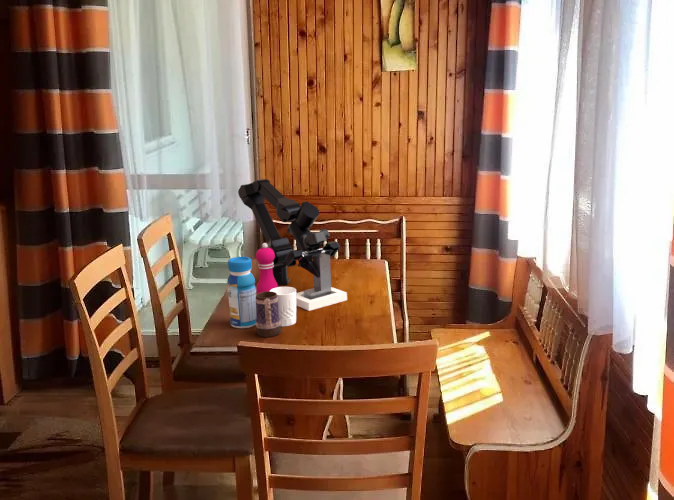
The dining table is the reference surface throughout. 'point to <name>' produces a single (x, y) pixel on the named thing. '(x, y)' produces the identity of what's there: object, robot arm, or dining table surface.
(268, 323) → the mug
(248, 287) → the beverage bottle
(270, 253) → the pepper mill
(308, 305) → the block
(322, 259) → the grey block
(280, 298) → the white cup
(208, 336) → the dining table surface
